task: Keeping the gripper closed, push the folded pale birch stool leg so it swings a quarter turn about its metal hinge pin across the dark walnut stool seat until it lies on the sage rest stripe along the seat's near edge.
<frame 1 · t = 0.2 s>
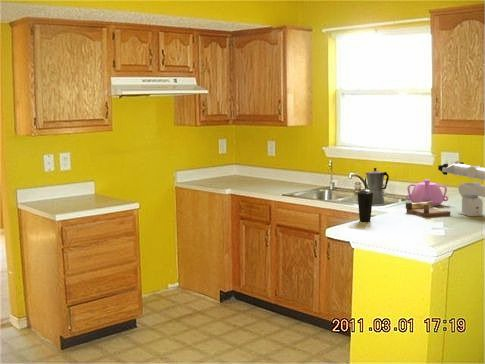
hand: (445, 167, 306), 22 cm above the worktop, tool horizontal, fingers open, 7 cm apart
birch leg: (419, 204, 298), point 4 cm above the worktop, hinge at 0.0°
walnut stool seat: (427, 214, 293), on the worktop
drinking cup: (365, 221, 276), on the worktop
teapot: (426, 206, 319), on the worktop
moka pot: (376, 204, 326), on the worktop
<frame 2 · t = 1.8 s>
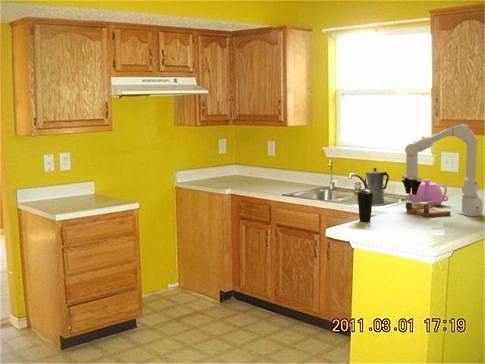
hand: (411, 194, 303), 8 cm above the worktop, tool pointing down, fingers open, 5 cm apart
nothing on the worktop moved.
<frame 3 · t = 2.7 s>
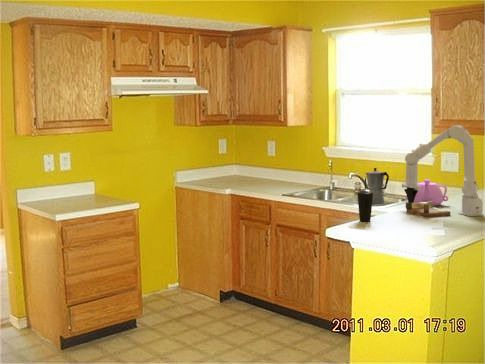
hand: (410, 202, 303), 4 cm above the worktop, tool pointing down, fingers closed
nothing on the worktop moved.
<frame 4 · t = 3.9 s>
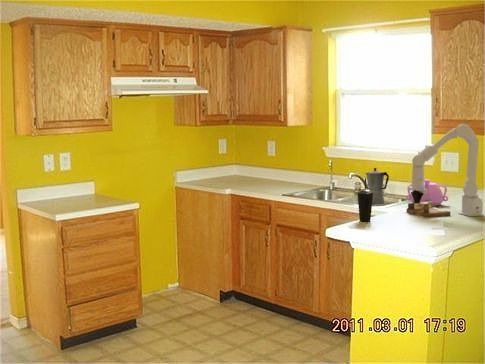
hand: (417, 205, 299), 3 cm above the worktop, tool pointing down, fingers closed, pressing on birch leg
birch leg: (420, 205, 297), point 4 cm above the worktop, hinge at 8.9°, touching gripper
everything else where it was.
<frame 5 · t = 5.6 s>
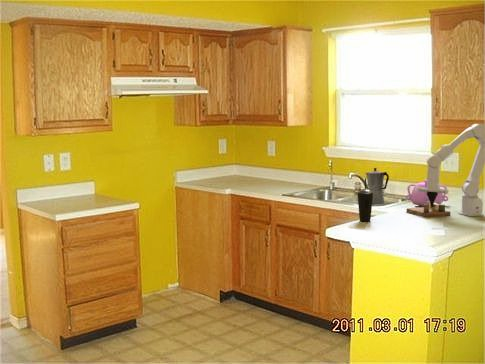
hand: (432, 207, 293), 3 cm above the worktop, tool pointing down, fingers closed, pressing on birch leg
birch leg: (435, 206, 294), point 4 cm above the worktop, hinge at 82.2°, touching gripper
everything else where it was.
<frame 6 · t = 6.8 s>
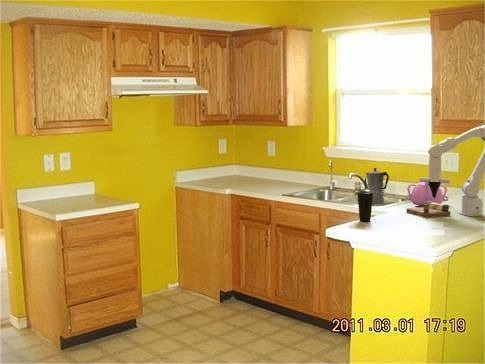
hand: (434, 197, 292), 8 cm above the worktop, tool pointing down, fingers closed
birch leg: (437, 206, 294), point 4 cm above the worktop, hinge at 91.2°
everything else where it was.
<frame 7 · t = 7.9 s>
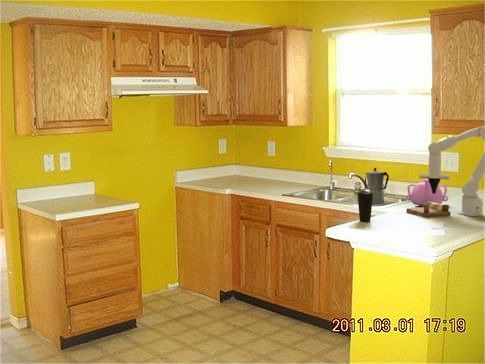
hand: (434, 193, 297), 9 cm above the worktop, tool pointing down, fingers closed
nothing on the worktop moved.
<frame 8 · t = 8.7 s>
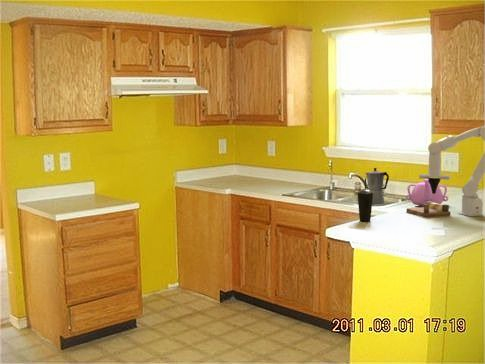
hand: (434, 193, 297), 9 cm above the worktop, tool pointing down, fingers closed
nothing on the worktop moved.
at the end: birch leg at +91° (first picture: +0°); the gripper is holding nothing; teapot moved 0.3 cm from its start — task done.
